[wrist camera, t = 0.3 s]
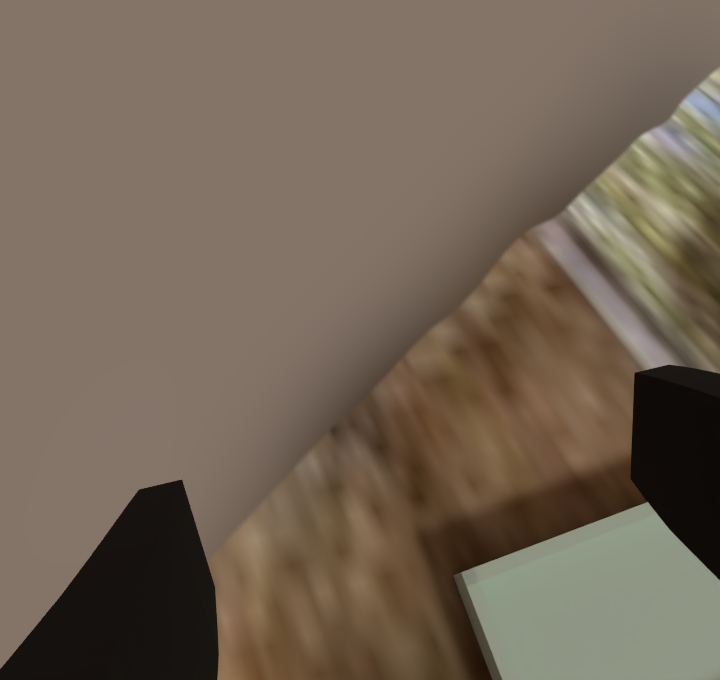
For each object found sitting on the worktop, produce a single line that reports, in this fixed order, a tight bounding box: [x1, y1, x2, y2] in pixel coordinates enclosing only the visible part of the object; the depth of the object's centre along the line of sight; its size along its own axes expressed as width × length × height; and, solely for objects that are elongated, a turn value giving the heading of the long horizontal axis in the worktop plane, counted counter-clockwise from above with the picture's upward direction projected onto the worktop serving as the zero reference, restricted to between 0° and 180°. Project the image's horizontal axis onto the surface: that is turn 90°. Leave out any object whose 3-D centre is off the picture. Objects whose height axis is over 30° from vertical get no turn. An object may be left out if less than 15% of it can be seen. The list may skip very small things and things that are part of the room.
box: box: [453, 502, 720, 680], centre depth 36 cm, size 13×21×3 cm, turn 109°
